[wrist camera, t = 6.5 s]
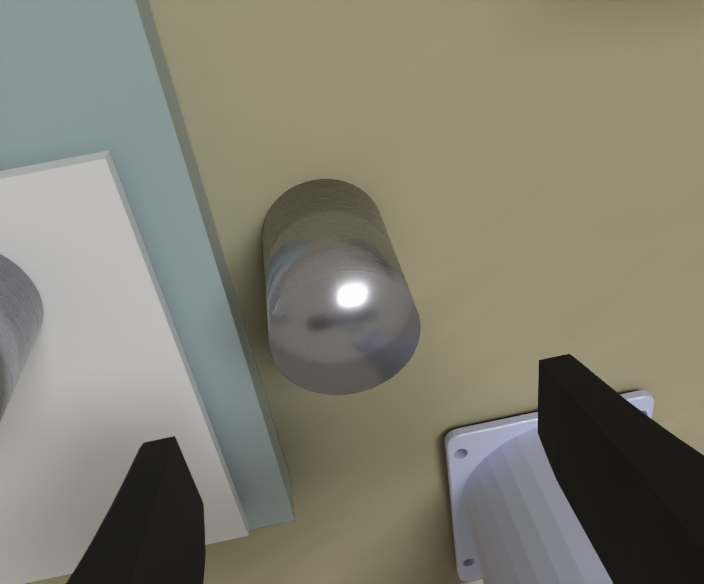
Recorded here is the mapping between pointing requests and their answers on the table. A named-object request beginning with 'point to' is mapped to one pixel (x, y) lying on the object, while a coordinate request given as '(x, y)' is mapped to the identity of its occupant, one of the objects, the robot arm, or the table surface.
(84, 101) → the scale
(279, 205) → the cylinder
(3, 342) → the cylinder
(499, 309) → the table surface
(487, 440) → the robot arm
